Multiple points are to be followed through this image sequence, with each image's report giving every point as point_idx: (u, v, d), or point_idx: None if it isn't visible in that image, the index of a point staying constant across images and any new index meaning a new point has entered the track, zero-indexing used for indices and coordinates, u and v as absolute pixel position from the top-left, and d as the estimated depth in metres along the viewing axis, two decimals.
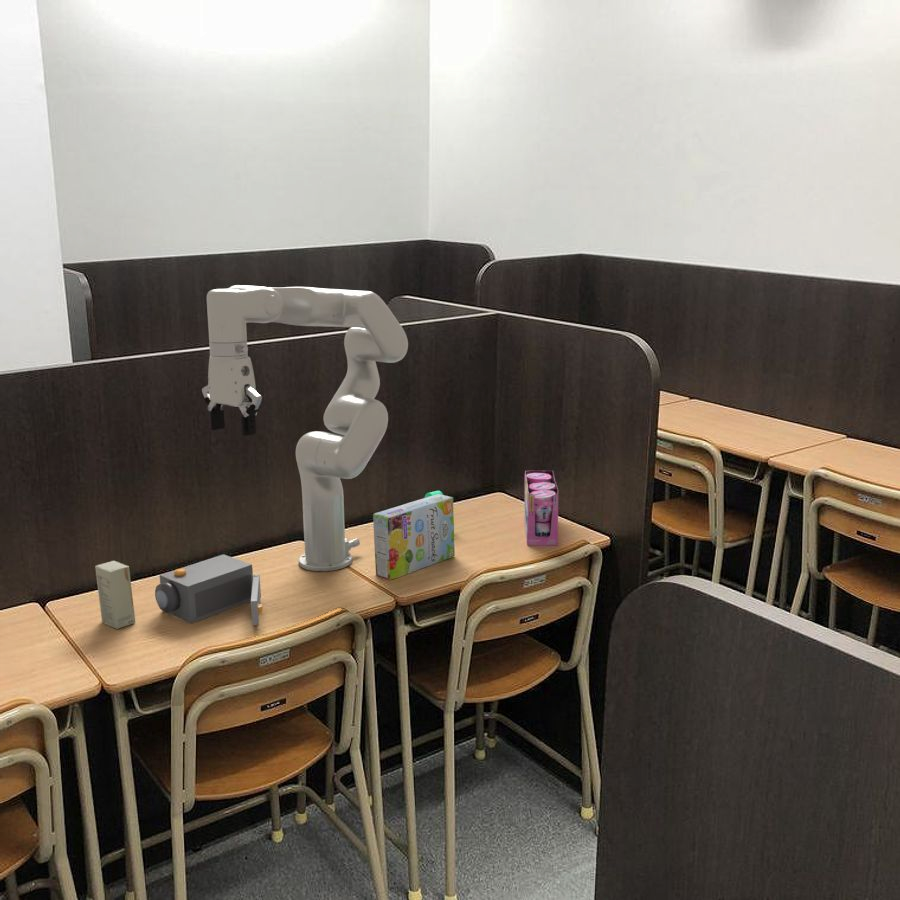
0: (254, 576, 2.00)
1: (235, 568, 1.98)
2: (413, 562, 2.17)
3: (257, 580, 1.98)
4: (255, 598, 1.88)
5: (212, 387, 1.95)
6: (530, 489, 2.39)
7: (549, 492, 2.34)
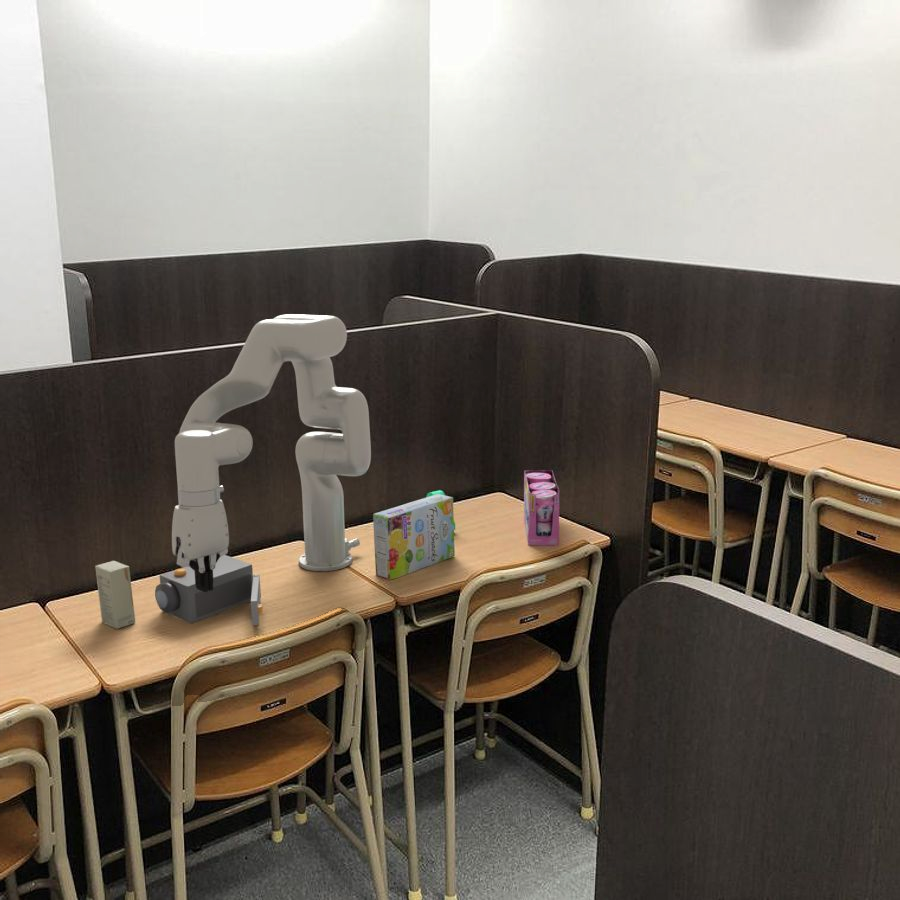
0: (254, 576, 2.00)
1: (235, 568, 1.98)
2: (413, 562, 2.17)
3: (257, 580, 1.98)
4: (255, 598, 1.88)
5: (194, 542, 1.74)
6: (530, 489, 2.40)
7: (550, 492, 2.34)
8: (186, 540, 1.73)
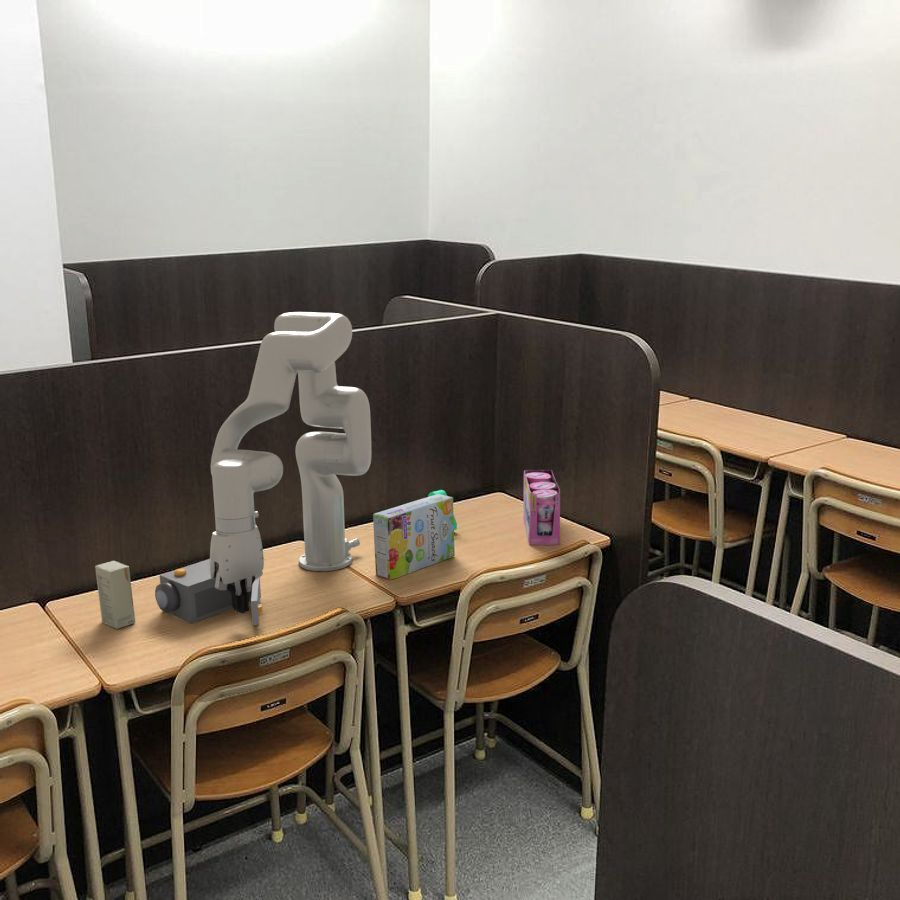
0: None
1: None
2: (413, 562, 2.17)
3: (257, 580, 1.98)
4: (255, 598, 1.88)
5: (232, 567, 1.82)
6: (531, 489, 2.40)
7: (551, 491, 2.34)
8: (224, 565, 1.81)
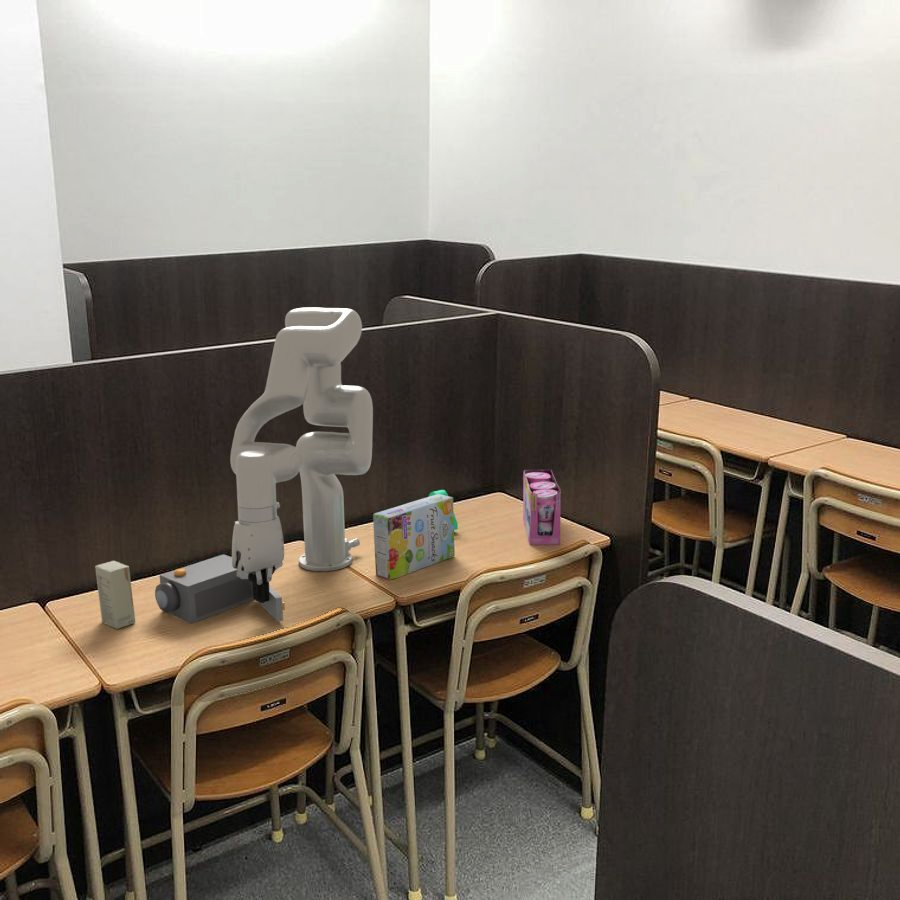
0: None
1: None
2: (413, 562, 2.17)
3: None
4: (277, 595, 1.90)
5: (253, 556, 1.85)
6: (531, 488, 2.40)
7: (551, 491, 2.34)
8: (246, 554, 1.84)
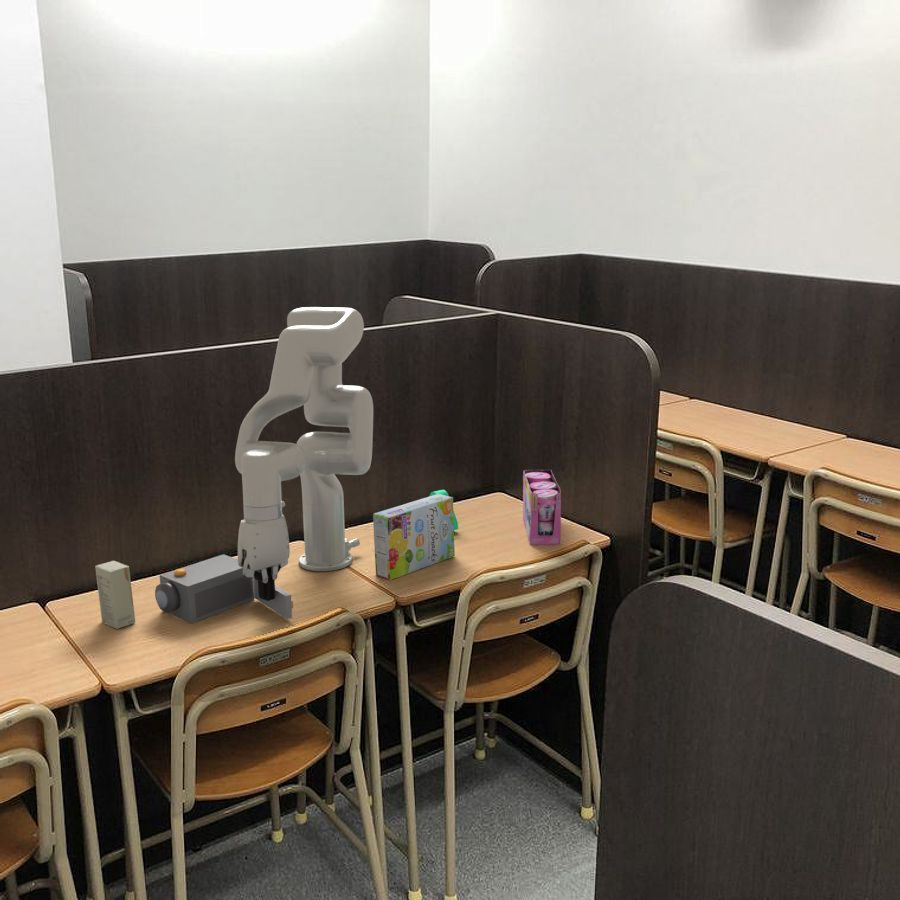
0: None
1: (235, 568, 1.98)
2: (413, 562, 2.17)
3: None
4: (286, 593, 1.91)
5: (259, 554, 1.86)
6: (531, 488, 2.40)
7: (551, 491, 2.35)
8: (252, 552, 1.85)
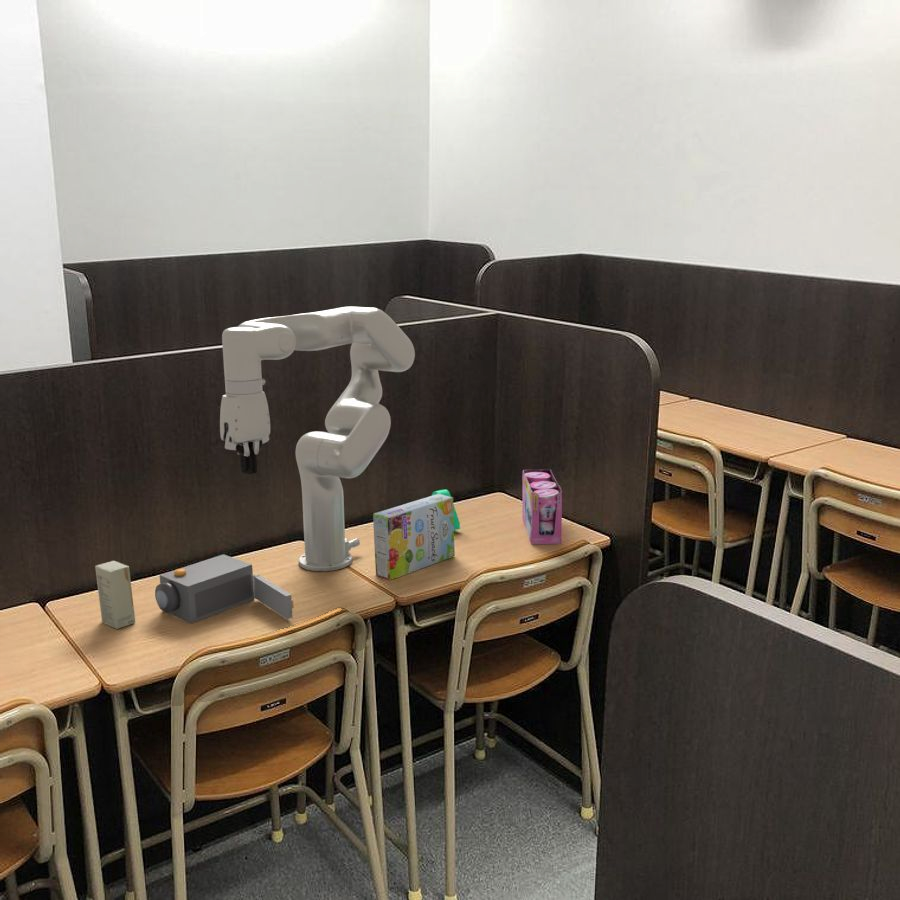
0: (255, 576, 2.00)
1: (235, 568, 1.98)
2: (413, 562, 2.17)
3: (264, 579, 1.98)
4: (286, 593, 1.91)
5: (241, 427, 1.94)
6: (532, 488, 2.40)
7: (552, 491, 2.35)
8: (233, 425, 1.93)
